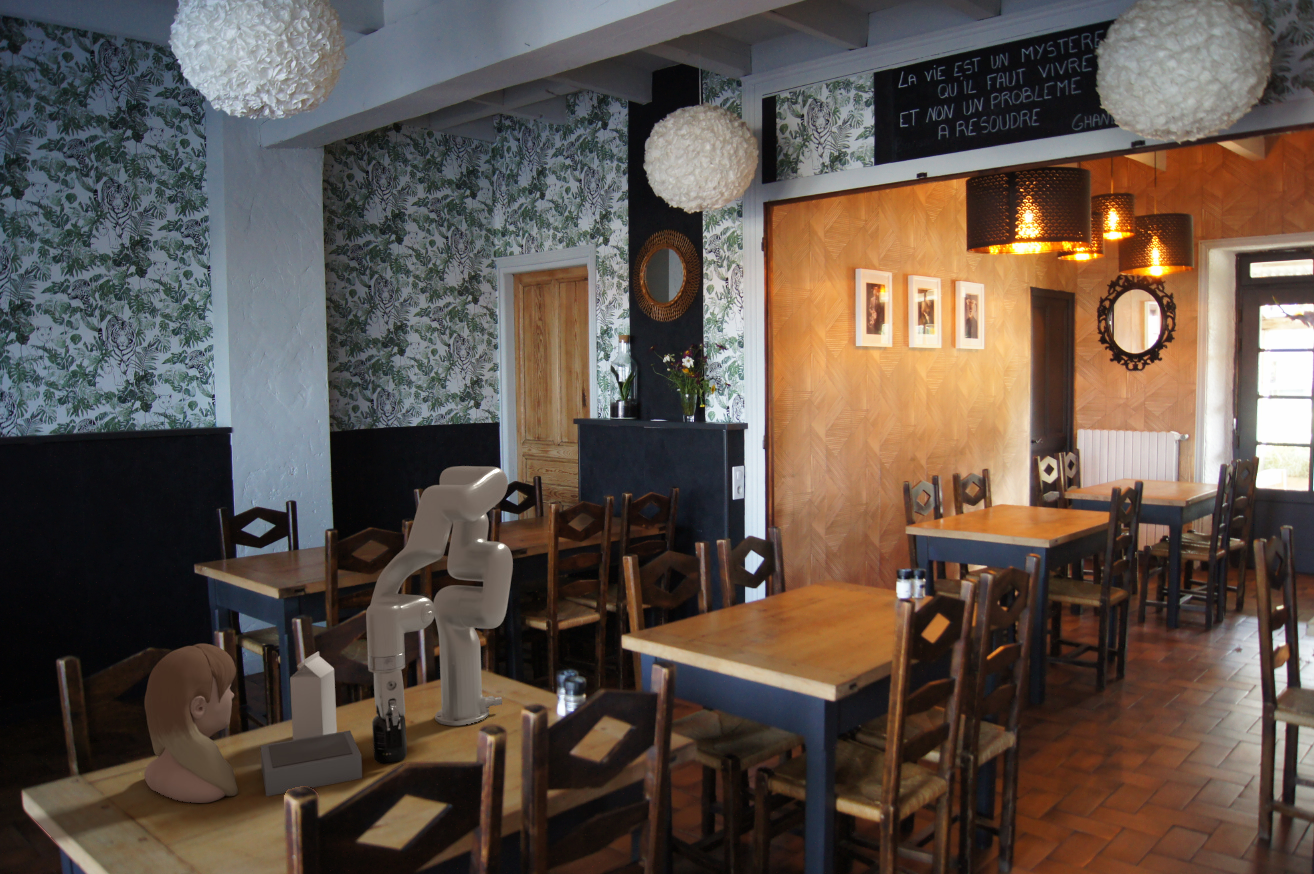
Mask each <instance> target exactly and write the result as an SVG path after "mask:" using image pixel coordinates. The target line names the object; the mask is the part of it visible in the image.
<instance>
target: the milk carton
mask: <svg viewBox="0 0 1314 874" xmlns="http://www.w3.org/2000/svg"><path fill="white" fill-rule="evenodd" d="M296 667H297V669H298V670H297V671H296V672H295V673H293V674H292V675H291V676H290V680H289V681H290V683H289V684H290V702H291V703H290V704H291V723H292V724H291V725H292V740H296V739H302V738H308V737H314V736H320V735H326V734H332V733H338V727H337V705H336V688H335V687H336V685H335V684H336V682H335V668H334V667H333V666H332V665H331V664H330V663H328V662H327V661H326V660H325V659H324V658H323V657H321V656H320V651H317V652H315V653H313V654H311V655H310V656H308V657H307V658H305V659H304V660H302V661H300V662H299V664H297V666H296Z"/></svg>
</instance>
